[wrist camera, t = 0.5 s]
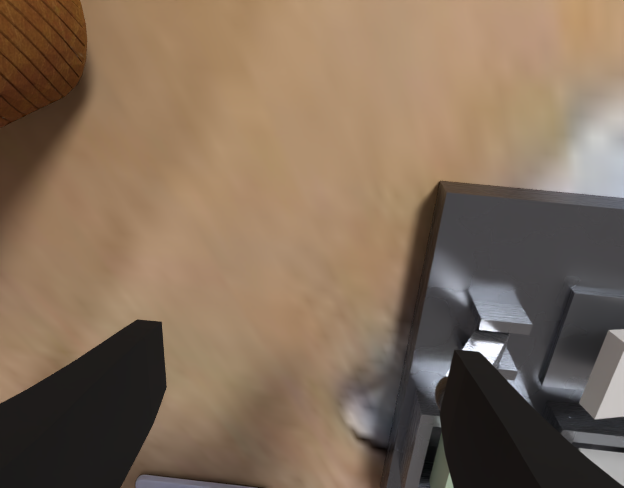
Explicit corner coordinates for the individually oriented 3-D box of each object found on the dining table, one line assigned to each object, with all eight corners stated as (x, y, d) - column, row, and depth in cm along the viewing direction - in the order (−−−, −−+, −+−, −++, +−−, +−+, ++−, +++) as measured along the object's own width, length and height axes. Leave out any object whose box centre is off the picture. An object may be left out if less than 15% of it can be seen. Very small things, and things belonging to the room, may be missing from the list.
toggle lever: (507, 360, 20) (468, 438, 16) (469, 345, 21) (423, 416, 17) (516, 329, 20) (479, 402, 16) (477, 315, 20) (432, 380, 16)
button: (493, 487, 22) (506, 528, 21) (429, 480, 23) (436, 520, 21) (509, 440, 21) (524, 479, 19) (441, 432, 21) (449, 470, 20)
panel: (598, 511, 27) (629, 571, 24) (380, 485, 27) (383, 542, 24) (744, 209, 19) (816, 243, 16) (440, 180, 20) (456, 208, 17)
